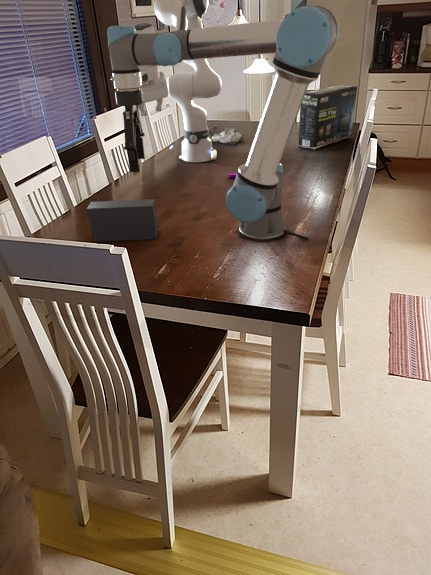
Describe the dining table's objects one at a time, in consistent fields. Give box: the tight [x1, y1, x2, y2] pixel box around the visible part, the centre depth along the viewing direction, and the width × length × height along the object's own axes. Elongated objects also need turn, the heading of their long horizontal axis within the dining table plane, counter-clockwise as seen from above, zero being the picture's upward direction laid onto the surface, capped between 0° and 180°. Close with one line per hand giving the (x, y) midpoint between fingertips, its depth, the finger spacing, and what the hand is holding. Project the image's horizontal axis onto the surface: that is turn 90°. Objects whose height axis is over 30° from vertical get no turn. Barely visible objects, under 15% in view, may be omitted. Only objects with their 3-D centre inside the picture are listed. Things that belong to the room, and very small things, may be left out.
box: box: [86, 198, 159, 243], centre depth 148 cm, size 20×6×11 cm, turn 91°
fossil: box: [211, 127, 246, 146], centre depth 254 cm, size 18×11×15 cm
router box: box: [297, 84, 358, 151], centre depth 238 cm, size 36×11×27 cm, turn 134°
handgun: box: [227, 172, 237, 179], centre depth 192 cm, size 21×8×2 cm, turn 11°
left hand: (151, 113), depth 177 cm, fingers open, 8 cm apart
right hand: (137, 165), depth 139 cm, fingers open, 13 cm apart
